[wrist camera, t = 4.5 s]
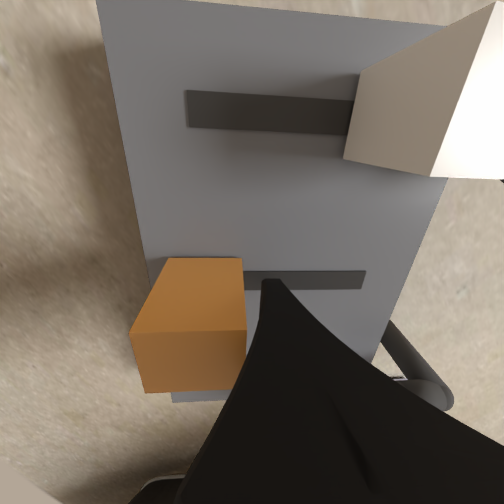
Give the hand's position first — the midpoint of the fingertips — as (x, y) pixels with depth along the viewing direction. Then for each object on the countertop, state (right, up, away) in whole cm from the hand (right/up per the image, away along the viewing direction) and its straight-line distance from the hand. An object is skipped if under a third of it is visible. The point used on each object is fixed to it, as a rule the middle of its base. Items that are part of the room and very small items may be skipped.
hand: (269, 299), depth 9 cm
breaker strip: (+1, +2, +4) cm, 4 cm away
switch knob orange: (-3, +1, +1) cm, 3 cm away
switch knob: (+4, +6, -2) cm, 8 cm away
